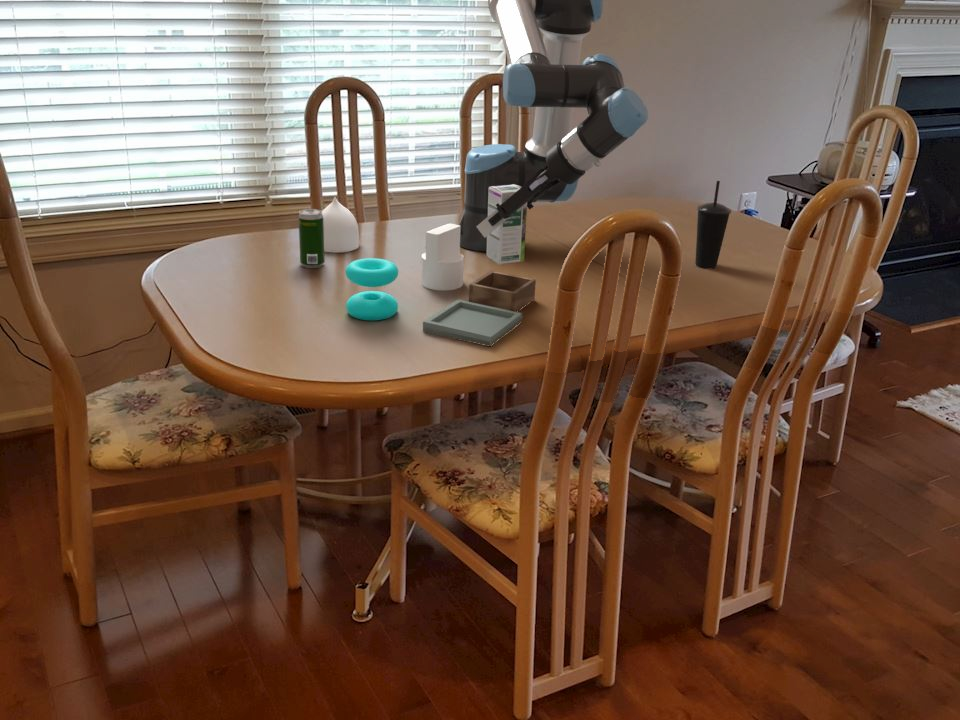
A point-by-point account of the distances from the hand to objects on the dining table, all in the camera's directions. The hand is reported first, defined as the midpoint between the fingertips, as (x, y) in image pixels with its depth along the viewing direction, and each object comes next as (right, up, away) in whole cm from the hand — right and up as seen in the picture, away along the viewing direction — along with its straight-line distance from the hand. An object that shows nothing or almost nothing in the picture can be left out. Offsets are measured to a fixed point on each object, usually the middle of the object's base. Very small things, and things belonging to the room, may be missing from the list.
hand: (490, 226), depth 184 cm
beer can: (-39, -5, +22) cm, 46 cm away
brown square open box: (+2, -15, +5) cm, 16 cm away
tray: (-3, -20, -8) cm, 22 cm away
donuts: (-23, -18, -3) cm, 29 cm away
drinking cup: (+51, -4, +34) cm, 61 cm away
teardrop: (-36, 0, +36) cm, 51 cm away
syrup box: (+3, -6, +1) cm, 7 cm away
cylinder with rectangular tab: (-10, -10, +15) cm, 21 cm away
